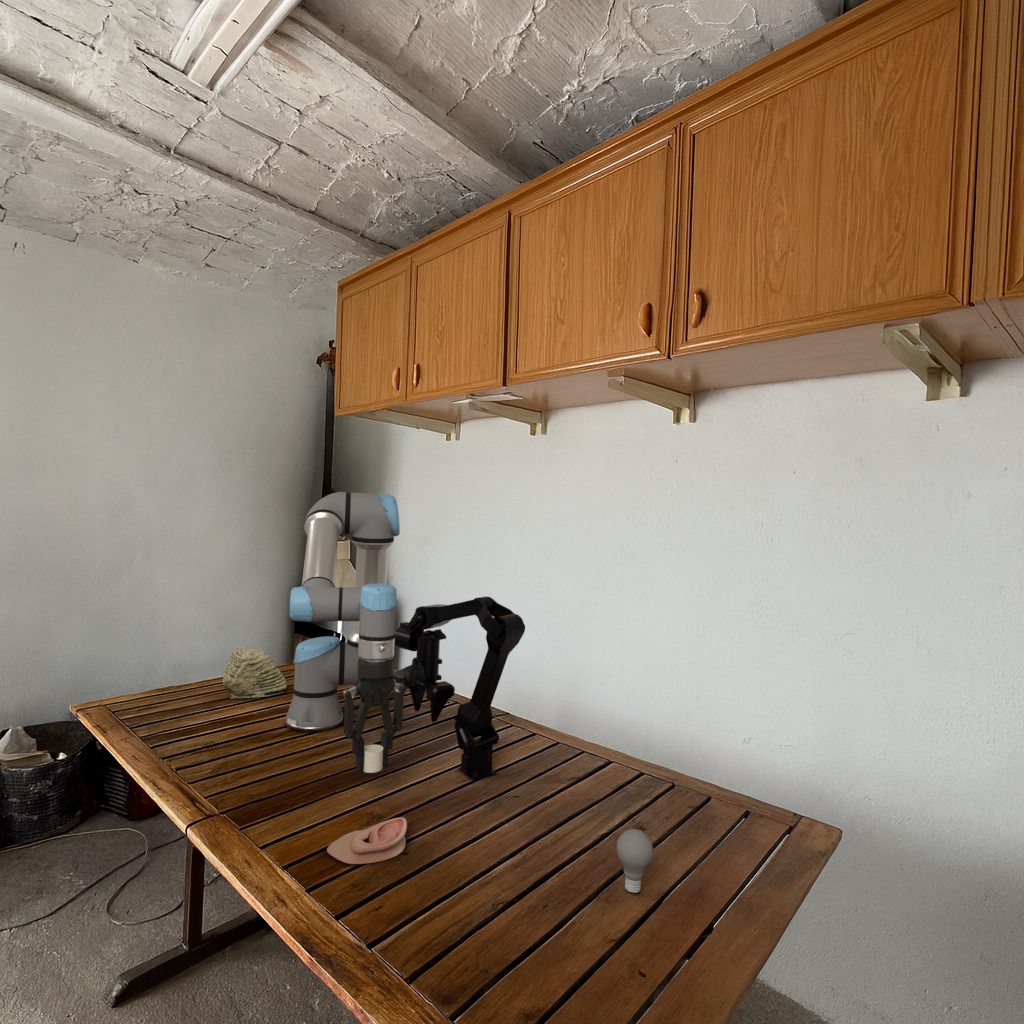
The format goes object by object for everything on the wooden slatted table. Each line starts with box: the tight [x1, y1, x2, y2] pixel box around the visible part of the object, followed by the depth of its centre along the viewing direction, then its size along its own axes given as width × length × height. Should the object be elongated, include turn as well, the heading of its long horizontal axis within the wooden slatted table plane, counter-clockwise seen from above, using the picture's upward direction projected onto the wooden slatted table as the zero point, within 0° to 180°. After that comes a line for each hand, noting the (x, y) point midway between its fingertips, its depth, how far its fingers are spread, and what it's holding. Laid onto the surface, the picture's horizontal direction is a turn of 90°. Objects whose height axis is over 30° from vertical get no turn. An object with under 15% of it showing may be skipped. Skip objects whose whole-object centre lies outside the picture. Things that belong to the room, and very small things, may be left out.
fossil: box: [222, 646, 288, 699], centre depth 198 cm, size 9×18×15 cm, turn 132°
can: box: [363, 743, 384, 774], centre depth 134 cm, size 5×5×4 cm
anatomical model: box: [326, 816, 408, 865], centre depth 115 cm, size 13×4×12 cm
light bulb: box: [615, 828, 654, 894], centre depth 106 cm, size 6×6×10 cm
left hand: (371, 766), depth 134 cm, fingers closed on can, 5 cm apart
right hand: (425, 716), depth 160 cm, fingers open, 9 cm apart
